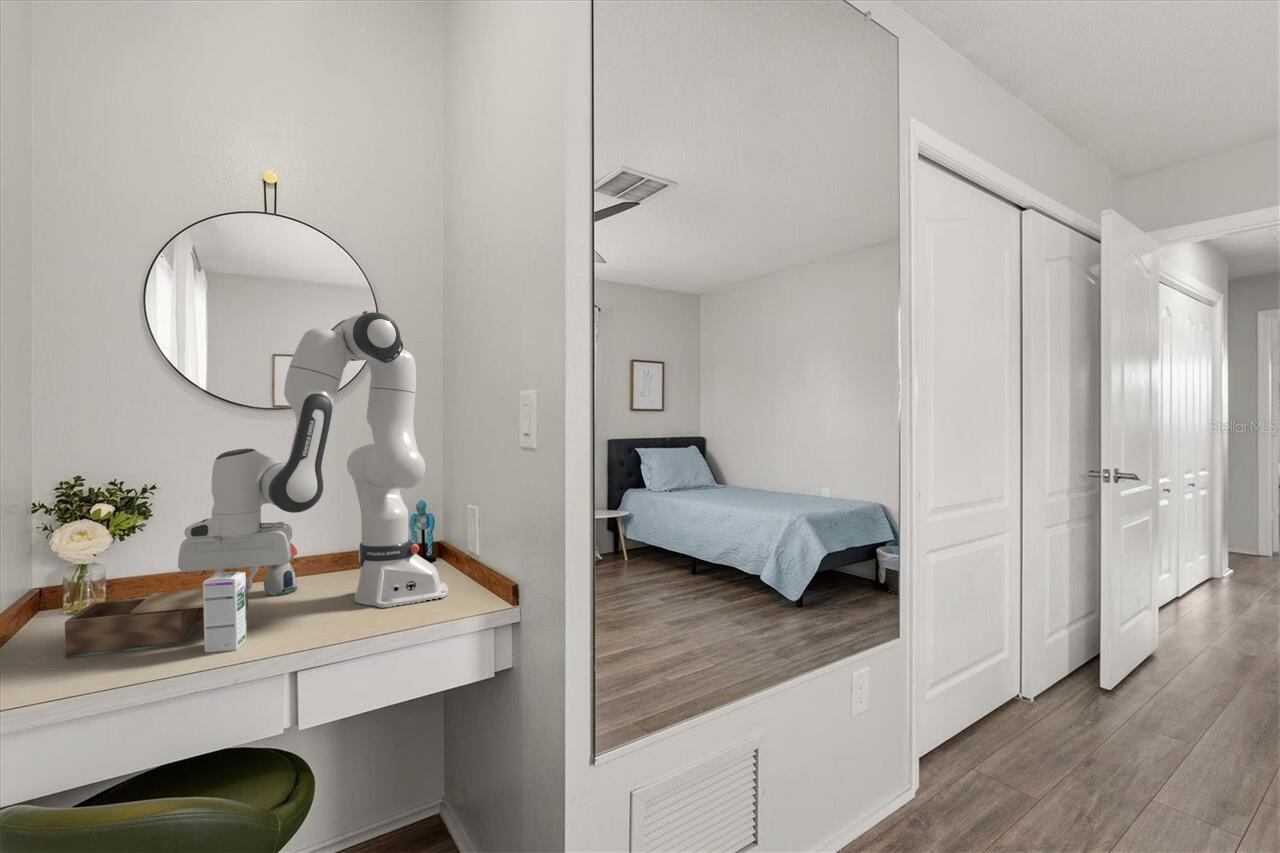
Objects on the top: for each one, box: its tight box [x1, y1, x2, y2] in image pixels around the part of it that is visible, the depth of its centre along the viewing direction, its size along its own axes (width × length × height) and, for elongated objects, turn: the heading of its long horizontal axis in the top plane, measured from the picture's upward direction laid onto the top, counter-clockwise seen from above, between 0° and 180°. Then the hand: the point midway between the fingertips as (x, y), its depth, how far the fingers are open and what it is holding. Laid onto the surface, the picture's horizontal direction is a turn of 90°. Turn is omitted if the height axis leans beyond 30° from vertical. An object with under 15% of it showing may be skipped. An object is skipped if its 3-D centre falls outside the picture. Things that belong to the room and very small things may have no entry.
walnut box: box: [64, 597, 199, 659], centre depth 123 cm, size 18×12×7 cm, turn 113°
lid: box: [131, 587, 252, 614], centre depth 127 cm, size 18×12×5 cm, turn 113°
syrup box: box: [202, 571, 248, 653], centre depth 120 cm, size 6×6×14 cm
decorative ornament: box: [263, 541, 299, 597], centre depth 155 cm, size 9×7×15 cm
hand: (237, 587), depth 130 cm, fingers open, 3 cm apart
